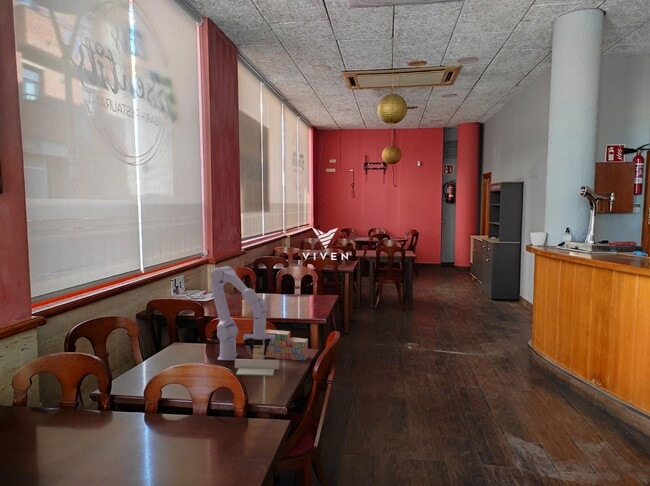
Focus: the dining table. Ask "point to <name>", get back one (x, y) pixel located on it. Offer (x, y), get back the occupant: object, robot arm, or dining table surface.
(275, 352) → the stack of blocks
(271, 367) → the screen
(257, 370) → the mat
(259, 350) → the letter cube
